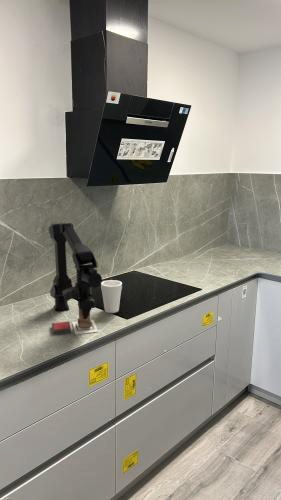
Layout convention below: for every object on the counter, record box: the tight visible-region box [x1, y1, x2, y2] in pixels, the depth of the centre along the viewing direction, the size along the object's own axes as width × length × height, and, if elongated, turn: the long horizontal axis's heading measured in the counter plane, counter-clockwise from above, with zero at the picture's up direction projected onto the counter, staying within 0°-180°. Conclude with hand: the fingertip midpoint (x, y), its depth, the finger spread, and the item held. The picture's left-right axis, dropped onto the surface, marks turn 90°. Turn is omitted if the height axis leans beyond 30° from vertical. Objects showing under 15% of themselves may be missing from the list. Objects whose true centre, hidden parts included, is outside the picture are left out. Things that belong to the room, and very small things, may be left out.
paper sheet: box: [71, 319, 99, 336], centre depth 161 cm, size 12×9×1 cm
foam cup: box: [100, 279, 123, 314], centre depth 178 cm, size 10×9×13 cm
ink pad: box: [51, 321, 72, 336], centre depth 159 cm, size 8×7×2 cm
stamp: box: [77, 308, 92, 328], centre depth 160 cm, size 5×5×8 cm
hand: (84, 317), depth 160 cm, fingers closed on stamp, 4 cm apart
